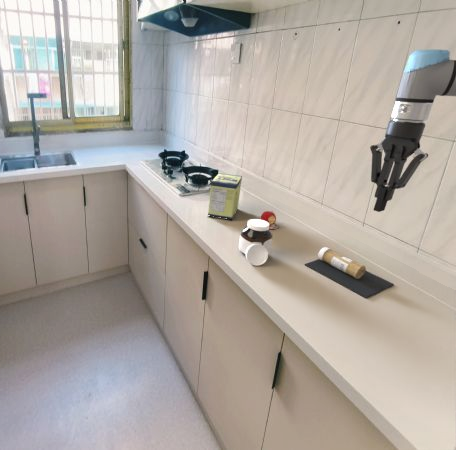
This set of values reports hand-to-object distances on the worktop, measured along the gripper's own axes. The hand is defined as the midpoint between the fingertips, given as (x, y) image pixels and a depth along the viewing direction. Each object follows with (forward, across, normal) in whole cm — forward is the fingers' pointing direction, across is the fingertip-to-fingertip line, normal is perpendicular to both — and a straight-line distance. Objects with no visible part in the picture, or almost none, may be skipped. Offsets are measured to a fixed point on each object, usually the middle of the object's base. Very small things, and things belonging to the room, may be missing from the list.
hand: (378, 210), depth 92 cm
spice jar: (+20, +1, 0) cm, 20 cm away
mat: (+22, -3, 0) cm, 23 cm away
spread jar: (+23, -24, -18) cm, 38 cm away
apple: (+23, -41, +6) cm, 47 cm away
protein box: (+23, -60, -1) cm, 64 cm away
